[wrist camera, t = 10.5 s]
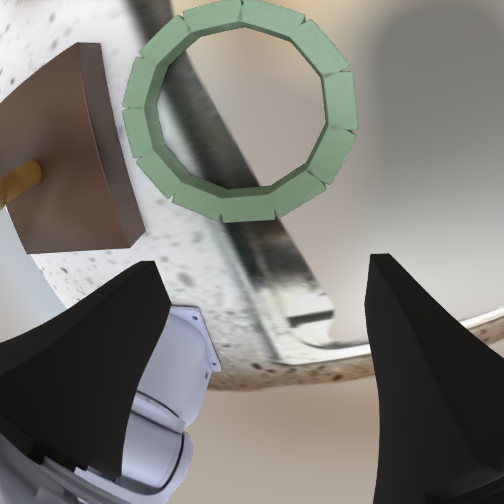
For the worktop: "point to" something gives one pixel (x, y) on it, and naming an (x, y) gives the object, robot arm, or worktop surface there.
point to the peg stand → (66, 159)
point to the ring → (253, 198)
